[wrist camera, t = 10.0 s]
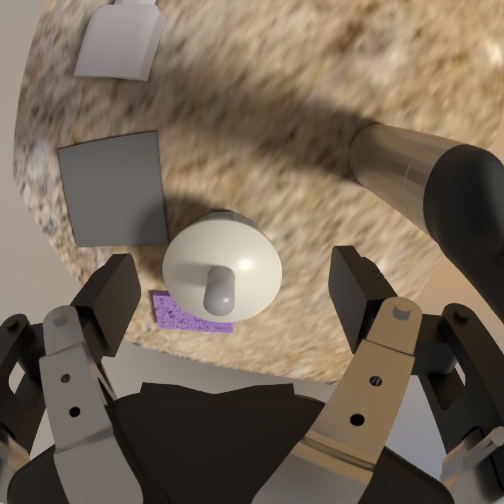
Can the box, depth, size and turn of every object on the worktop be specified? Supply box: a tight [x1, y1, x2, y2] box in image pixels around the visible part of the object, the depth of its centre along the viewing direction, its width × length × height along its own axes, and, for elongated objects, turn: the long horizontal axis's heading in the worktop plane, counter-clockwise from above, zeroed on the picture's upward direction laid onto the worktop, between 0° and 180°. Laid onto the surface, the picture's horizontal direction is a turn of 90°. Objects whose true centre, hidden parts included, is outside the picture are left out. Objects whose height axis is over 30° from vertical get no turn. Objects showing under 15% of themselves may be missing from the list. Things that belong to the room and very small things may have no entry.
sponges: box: [153, 290, 233, 333], centre depth 44 cm, size 7×13×2 cm, turn 86°
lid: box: [162, 218, 282, 323], centre depth 31 cm, size 14×14×6 cm
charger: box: [73, 0, 167, 81], centre depth 22 cm, size 5×9×15 cm
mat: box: [58, 131, 170, 247], centre depth 34 cm, size 15×15×1 cm
